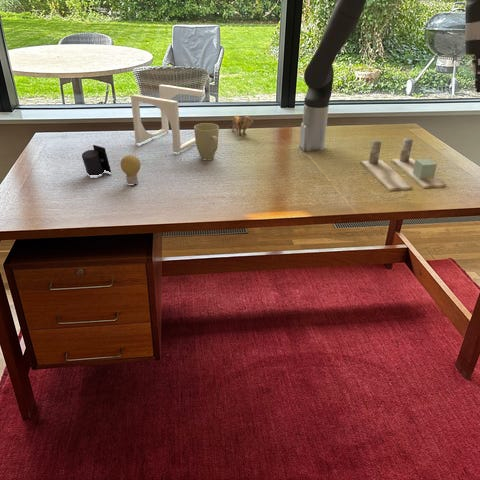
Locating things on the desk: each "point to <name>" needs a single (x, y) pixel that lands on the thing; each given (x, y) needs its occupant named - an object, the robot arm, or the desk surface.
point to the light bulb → (131, 168)
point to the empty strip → (384, 170)
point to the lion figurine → (241, 123)
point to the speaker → (96, 160)
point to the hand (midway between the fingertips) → (479, 90)
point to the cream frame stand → (163, 114)
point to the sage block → (424, 168)
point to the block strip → (408, 166)
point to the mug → (206, 139)
